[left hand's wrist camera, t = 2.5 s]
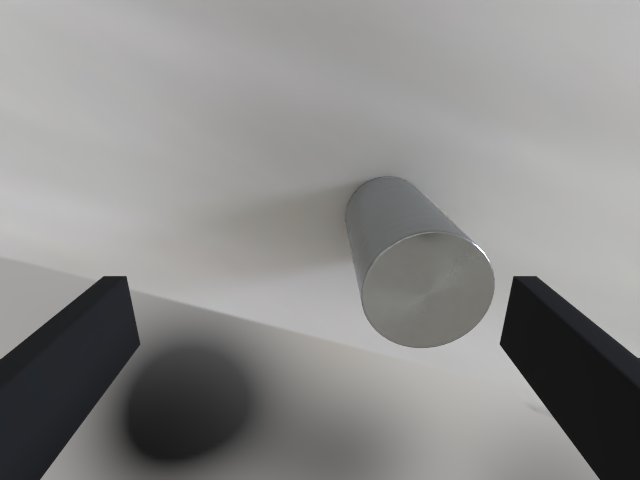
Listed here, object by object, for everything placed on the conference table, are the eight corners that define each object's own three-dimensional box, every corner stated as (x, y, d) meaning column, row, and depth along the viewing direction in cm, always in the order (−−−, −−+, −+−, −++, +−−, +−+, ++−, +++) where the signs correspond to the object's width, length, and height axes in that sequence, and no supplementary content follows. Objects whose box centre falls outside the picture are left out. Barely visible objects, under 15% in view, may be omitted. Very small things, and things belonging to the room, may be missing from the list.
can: (353, 170, 29) (377, 221, 17) (435, 183, 29) (514, 242, 17) (338, 246, 31) (349, 339, 19) (414, 258, 32) (471, 356, 20)
